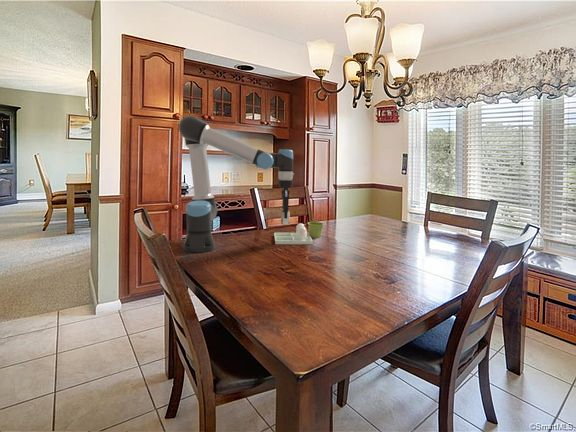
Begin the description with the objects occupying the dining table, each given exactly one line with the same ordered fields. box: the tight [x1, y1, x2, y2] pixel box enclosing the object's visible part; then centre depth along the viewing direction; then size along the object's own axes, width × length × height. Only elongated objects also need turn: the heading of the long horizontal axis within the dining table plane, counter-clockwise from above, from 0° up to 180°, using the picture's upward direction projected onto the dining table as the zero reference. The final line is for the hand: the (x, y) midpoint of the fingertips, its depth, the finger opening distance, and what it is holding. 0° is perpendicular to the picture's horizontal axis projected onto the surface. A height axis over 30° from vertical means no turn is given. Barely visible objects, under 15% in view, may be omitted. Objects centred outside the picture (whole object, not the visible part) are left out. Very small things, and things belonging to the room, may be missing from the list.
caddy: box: [273, 232, 314, 245], centre depth 191 cm, size 20×20×3 cm
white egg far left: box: [295, 223, 305, 236], centre depth 195 cm, size 5×5×8 cm
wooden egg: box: [280, 209, 291, 226], centre depth 183 cm, size 5×5×8 cm
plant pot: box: [307, 221, 325, 239], centre depth 199 cm, size 9×9×9 cm
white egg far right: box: [298, 226, 308, 241], centre depth 186 cm, size 5×5×8 cm
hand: (285, 223), depth 184 cm, fingers closed on wooden egg, 4 cm apart
